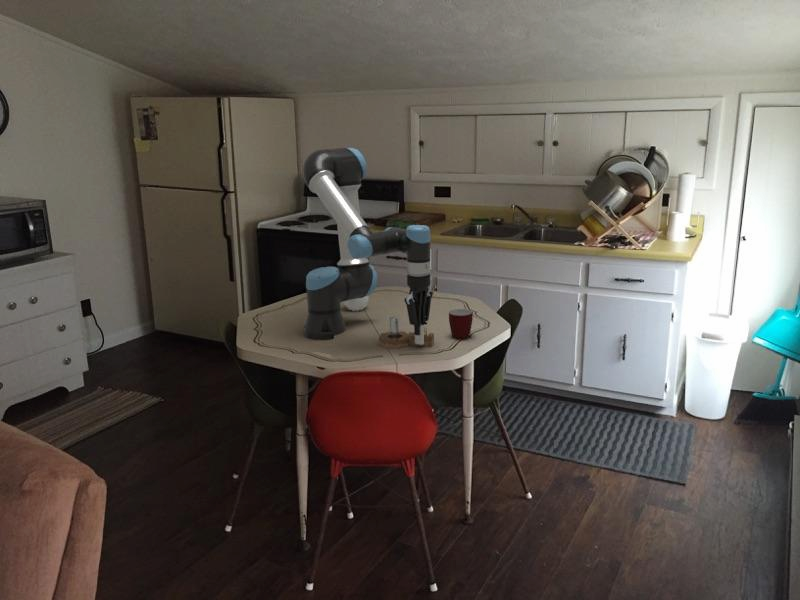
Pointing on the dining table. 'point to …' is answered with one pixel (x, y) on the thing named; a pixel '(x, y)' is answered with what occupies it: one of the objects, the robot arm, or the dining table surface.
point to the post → (394, 327)
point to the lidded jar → (357, 303)
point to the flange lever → (404, 340)
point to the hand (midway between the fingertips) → (419, 343)
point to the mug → (460, 323)
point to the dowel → (425, 331)
